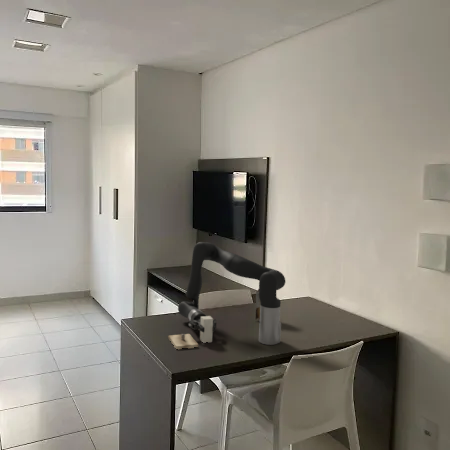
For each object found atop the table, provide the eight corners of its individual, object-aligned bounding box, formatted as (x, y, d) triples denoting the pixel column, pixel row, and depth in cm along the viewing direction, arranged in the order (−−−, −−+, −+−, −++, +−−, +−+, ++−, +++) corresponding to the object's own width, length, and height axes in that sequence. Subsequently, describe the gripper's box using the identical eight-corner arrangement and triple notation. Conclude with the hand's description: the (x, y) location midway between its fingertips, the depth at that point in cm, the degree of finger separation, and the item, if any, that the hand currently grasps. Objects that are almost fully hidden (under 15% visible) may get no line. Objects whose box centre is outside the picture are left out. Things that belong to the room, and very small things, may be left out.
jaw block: (209, 338, 221) (209, 315, 219) (212, 342, 216) (212, 318, 215) (200, 339, 219) (200, 316, 218) (202, 343, 215) (203, 319, 214)
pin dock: (189, 336, 222) (189, 328, 222) (198, 347, 209) (198, 338, 209) (168, 338, 219) (168, 330, 218) (176, 349, 206) (176, 340, 205)
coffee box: (273, 319, 254) (275, 290, 252) (271, 323, 248) (273, 292, 246) (257, 317, 257) (258, 288, 255) (254, 320, 250) (256, 291, 249)
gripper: (183, 311, 227) (194, 322, 211) (212, 309, 232) (224, 320, 216) (183, 326, 227) (193, 339, 212) (211, 324, 233) (223, 336, 217)
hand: (208, 329), depth 214 cm, fingers closed on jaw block, 4 cm apart
